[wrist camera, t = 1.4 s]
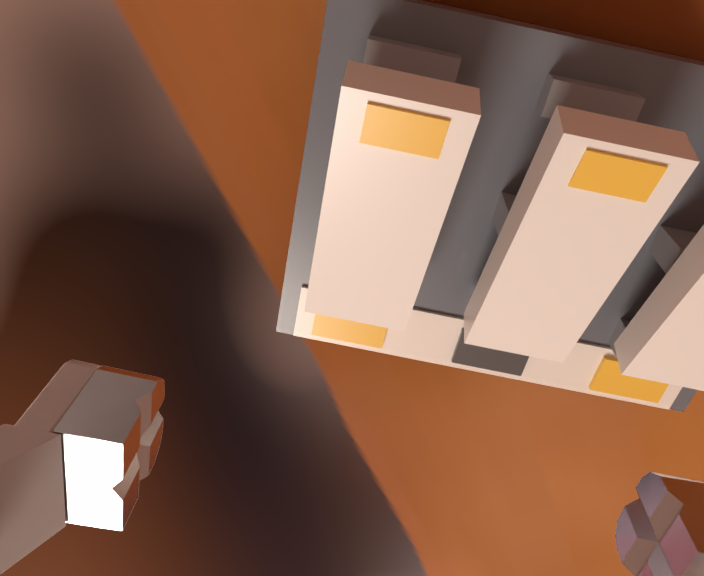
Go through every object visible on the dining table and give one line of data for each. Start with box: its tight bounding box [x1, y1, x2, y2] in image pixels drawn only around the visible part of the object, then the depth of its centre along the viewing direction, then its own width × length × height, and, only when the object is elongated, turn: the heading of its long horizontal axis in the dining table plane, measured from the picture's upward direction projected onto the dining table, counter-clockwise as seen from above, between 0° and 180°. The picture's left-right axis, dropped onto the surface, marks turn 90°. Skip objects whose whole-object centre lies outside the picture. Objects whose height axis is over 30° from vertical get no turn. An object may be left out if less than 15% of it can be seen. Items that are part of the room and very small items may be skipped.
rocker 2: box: [464, 105, 700, 363], centre depth 27 cm, size 12×5×2 cm, turn 169°
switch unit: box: [276, 0, 704, 412], centre depth 31 cm, size 18×24×5 cm
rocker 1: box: [304, 60, 481, 331], centre depth 27 cm, size 12×5×2 cm, turn 169°
